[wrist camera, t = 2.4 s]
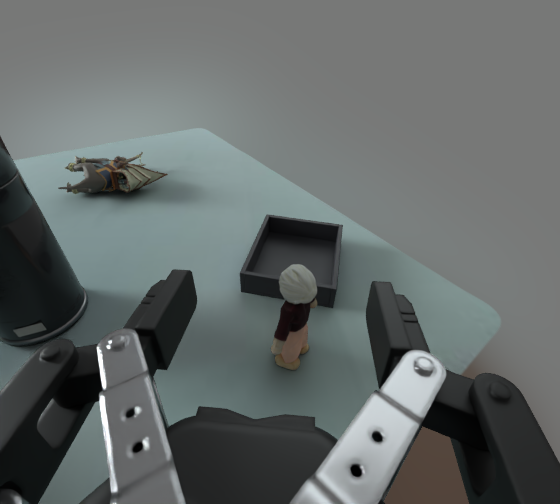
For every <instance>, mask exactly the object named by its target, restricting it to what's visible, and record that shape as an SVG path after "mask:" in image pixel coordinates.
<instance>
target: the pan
mask: <svg viewBox="0 0 560 504" xmlns="http://www.w3.org/2000/svg"><path fill="white" fill-rule="evenodd" d="M342 227H343V225H339V224H332V223H324V222H317V221H310V220H303V219H296V218H289V217H281V216H274V215H266V217H265V219H264V221H263V224H262V226H261V228H260V230H259V232H258V234H257V237H256V239H255V241H254V243H253V245H252V248H251V250H250V252H249V254H248V256H247V258H246V261H245V263H244V265H243V267H242V269H241V272H240V282H241V292H246V293H252V294H258V295H263V296H269V297H275V298H280V299H285V298H284V297H283V295H282V293H281V292H280V285H279V279H280V276H281V273H282V272H283V271H284V270H286V269H287V268H288V267H289V266H291V265H293V264H300V265H303V266H305V267H306V268H307V269H308V270H309V271H310V272H311V273H312V274H313V276H314V277H315V280H316V286H317V294H316V296H315V298H316V301H317V305H319V306H325V307H331V308H333V305H334V300H335V295H336V290H337V281H338V270H339V259H340V249H341V238H342Z"/></svg>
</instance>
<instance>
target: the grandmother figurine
mask: <svg viewBox="0 0 560 504" xmlns="http://www.w3.org/2000/svg"><path fill="white" fill-rule="evenodd" d="M279 285H280V292H281V293H282V295H283V297H284V298H285V300H286V301H285V302H284V304H283V306H282V308H281V315H280V320H279V323H278V326H277V329H276V331H275V335H274V340H273V345H272V347H271V352H272V353H273V354H275V355H276V356H275V362H276V363H277V365H279V366H281V367H284V368H287V369H290V370H296V369H297V368H298V367H299V365H300V360H299V358H298V356H299V354H304V353H306V352H307V351H308V349H309V346H308V344H307V337H308V335H307V334H308V326H307V321H308V318H309V313H310V308H315V307H316V306H317V301H316V298H315V296H316V294H317V286H316V280H315V277H314V276H313V274H312V273H311V272H310V271H309V270H308V269H307V268H306V267H305V266H303V265H300V264H293V265H291V266H289V267H288V268H287V269H286V270H284V271H283V272H282V273H281V276H280V279H279Z"/></svg>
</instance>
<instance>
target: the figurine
mask: <svg viewBox="0 0 560 504" xmlns="http://www.w3.org/2000/svg"><path fill="white" fill-rule="evenodd" d="M142 154H143V152H141V154H139V155H137V156H135V157H133V158H130V159H126V158H124V157H123V158H122V157H119V156H117V157H116V158H115V160H109V159H104V158H103V159H86V158H84V157H83V158H78V157H76V156H75V158H76V159H75V160H76V161H75V162H76V163H69V165H68V166H67V167H65V169H68V170H70V171H71V172H73V171H74V172H76V171H84V175H83V176H85V179H84V180H83V181H81V182H80V183H78V184H76V185H73V186H71V184H69V182H68V183H67V187H60V188H58V189H67V192H73V193H75V194H77V193H79V192H84V193H97V192H100V191H101V190H102V191H104V190H110V191H109V192H111V191H113V190H116V189H119V190H122V191H124V192H126V193H128V192H130V191H131V192H132V191H133V190H138V189H140V188H142V187H143V186H146V185H148V184H150V183H152V182H154V181H156V180H158V179H160V178H162V177H164V176H166V175H168V174H164V173H159V172H158V171H157V172H154V171H151V170H149V169H146V168H144V167H141V166H144V165H146V164H144V165H141V164H142V163H141V164H140V165H135V164H129V163H128V162H131V161H133V160H135V159H137V158H139V157H140V158H141V155H142ZM113 161H114V162H113ZM140 162H141V161H140ZM79 163H81V164H79ZM92 163H96V164H92ZM112 186H113V187H112ZM110 188H113V189H110Z"/></svg>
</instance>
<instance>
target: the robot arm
mask: <svg viewBox="0 0 560 504" xmlns="http://www.w3.org/2000/svg"><path fill="white" fill-rule="evenodd" d="M87 304H88V296H87V294H86V292H85V290H84V288H83V287H82V286H81V285H80V283H79V281H78V279H77V277H76V275H75V273H74V271H73V269H72V268H71V266H70V264H69V262H68V260H67V258H66V257H65V255H64V253H63V251H62V249H61V247H60V245H59V244H58V242H57V240H56V238H55V236H54V234H53V233H52V231H51V229H50V227H49V225H48V223H47V222H46V220H45V218H44V216H43V214H42V212H41V210H40V209H39V207H38V205H37V203H36V201H35V199H34V198H33V196H32V194H31V192H30V191H29V189H28V187H27V185H26V183H25V181H24V179H23V178H22V176H21V174H20V172H19V170H18V169H17V167H16V165H15V163H14V161H13V159H12V158H11V156H10V154H9V152H8V150H7V149H6V147H5V145H4V143H3V141H2V139H1V137H0V340H1V341H2V342H4V343H6V344H9V345H15V346H25V345H32V344H36V343H40V342H43V341H46V340H48V339H51V338H53V337H55V336H57V335H59V334H60V333H62V332H64V331H65V330H67V329H68V328H69V327H71V326H72V325H73V324H74V323H75V322H76V321H77V320H78V319H79V318H80V317H81V316H82V314H83V313H84V311H85V309H86V307H87ZM196 304H197V295H196V290H195V285H194V280H193V275H192V272H191V271H190V270H172V271H171V273H170V274H169V276H168V278H167V279H166V280H160V281H159V282H158V283H156V284H155V285H154V286H152V287H151V288H150V290H149V291H148V293H147V294H146V297H144V298H143V300H142V301H141V304H139V306H138V307H137V309H136V310H135V311H134V313H133V314H132V316H131V317H130V319H129V320H128V321H127V323H126V324H125V326H124V327H123V329H119V330H115V331H113V332H111V333H109V334H108V335H106V336H105V337H104V338H103V339H102V340H101V341H100V342H99V344H94V345H89V346H83V347H78V348H76V347H75V346H74V344H73V342H72V341H70V340H68V339H58V340H54V341H51V342H49V343H46V344H45V345H43V346H41V347H40V348H38V349H37V350H36V351H35V352H34V353H33V354H32V355H31V356H30V357H29V359H28V360H27V361H26V362H25V363H24V364H23V366H22V367H21V368H20V369H19V370H18V371H17V373H16V374H15V375H14V376H13V377H12V378H11V380H10V381H9V382H8V383H7V384H6V385H5V386H4V388H3V389H2V390H1V391H0V504H38V503H39V501H40V499H41V497H42V495H43V494H44V492H45V490H46V488H47V487H48V485H49V483H50V481H51V480H52V478H53V476H54V474H55V472H56V471H57V469H58V467H59V465H60V464H61V462H62V460H63V458H64V457H65V455H66V453H67V451H68V449H69V448H70V446H71V444H72V442H73V441H74V439H75V437H76V435H77V433H78V432H79V430H80V428H81V426H82V425H83V423H84V421H85V419H86V418H87V416H88V414H89V412H90V410H91V409H92V407H93V405H94V403H95V402H97V401H100V408H101V415H102V423H103V431H104V438H105V446H106V453H107V461H108V469H109V476H110V477H109V478H108V479H107V480H106V481H105V482H103V483H102V484H101V485H100V486H99V487H98V488H96V489H95V490H94V491H93V492H92V493H91V494H89V495H88V496H87V497H86V498H85V499H84V500H83V501H81V502H80V503H79V504H385V503H384V502H383V501H384V499H385V497H386V496H387V494H388V492H389V490H390V488H391V485H392V484H393V482H394V480H395V478H396V476H397V474H398V472H399V470H400V468H401V466H402V464H403V462H404V460H405V458H406V457H407V455H408V453H409V451H410V449H411V447H412V445H413V443H414V441H415V439H416V437H417V436H418V434H419V432H420V430H421V428H422V426H423V427H426V428H428V429H431V430H433V431H436V432H438V433H441V434H443V435H445V436H448V437H450V438H451V442H452V445H453V449H454V452H455V456H456V459H457V463H458V466H459V469H460V473H461V476H462V480H463V483H464V487H465V490H466V493H467V497H468V500H469V504H560V463H559V462H558V460H557V458H556V456H555V454H554V452H553V450H552V448H551V447H550V445H549V443H548V441H547V439H546V437H545V435H544V433H543V432H542V430H541V428H540V426H539V424H538V422H537V421H536V419H535V417H534V415H533V413H532V411H531V409H530V407H529V406H528V404H527V402H526V400H525V398H524V396H523V395H522V393H521V392H520V390H519V389H518V388H517V387H516V386H515V385H514V384H513V383H511V382H510V381H508V380H507V379H505V378H503V377H501V376H499V375H496V374H491V373H483V374H479V375H478V376H477V377H476V378H475V380H473V379H470V378H467V377H464V376H461V375H459V374H456V373H453V372H451V371H449V370H447V369H445V367H444V365H443V364H442V362H441V361H440V360H439V359H438V358H436V357H435V356H434V355H432V354H431V353H430V351H429V348H428V345H427V343H426V340H425V338H424V335H423V332H422V330H421V327H420V324H419V323H418V319H417V317H416V315H415V311H414V309H413V306H412V304H411V303H410V302H409V300H408V299H407V298H406V297H405V296H404V295H396V294H395V292H394V289H393V286H392V284H391V282H377V281H373V282H372V284H371V288H370V293H369V298H368V303H367V308H366V322H367V328H368V333H369V338H370V343H371V349H372V354H373V359H374V365H375V370H376V375H377V381H378V386H379V389H380V390H379V391H377V390H375V391H374V392H373V393H372V395H371V396H370V397H369V399H368V400H367V401H366V403H365V404H364V406H363V407H362V408H361V410H360V411H359V413H358V414H357V415H356V417H355V418H354V420H353V421H352V422H351V424H350V425H349V426H348V428H347V429H346V431H345V432H344V433H343V435H342V436H341V438H340V439H339V440H337V439H336V438H335V437H333V436H332V435H330V434H329V433H328V432H326V431H324V430H322V429H320V428H317V427H315V417H308V416H297V415H286V414H285V415H279V416H273V417H267V418H261V419H252V418H249V417H246V416H244V415H241V414H239V413H236V412H233V411H231V410H228V409H222V408H212V407H201V406H199V408H198V411H197V414H196V416H192V417H189V418H185V419H183V420H180V421H178V422H176V423H174V424H173V425H171V426H170V427H169V425H168V422H167V419H166V416H165V413H164V409H163V406H162V403H161V400H160V396H159V393H158V390H157V387H156V383H155V380H154V377H153V376H154V374H155V372H156V370H157V369H161V370H167V369H168V367H169V365H170V362H171V360H172V358H173V356H174V354H175V352H176V350H177V347H178V345H179V343H180V341H181V339H182V337H183V335H184V332H185V330H186V328H187V326H188V324H189V322H190V319H191V317H192V315H193V313H194V311H195V308H196ZM52 398H53V399H52ZM50 401H51V402H50ZM48 404H49V405H48ZM47 405H48V406H47ZM46 407H47V408H46ZM45 408H46V409H45ZM43 411H44V412H43ZM41 414H42V415H41Z"/></svg>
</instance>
